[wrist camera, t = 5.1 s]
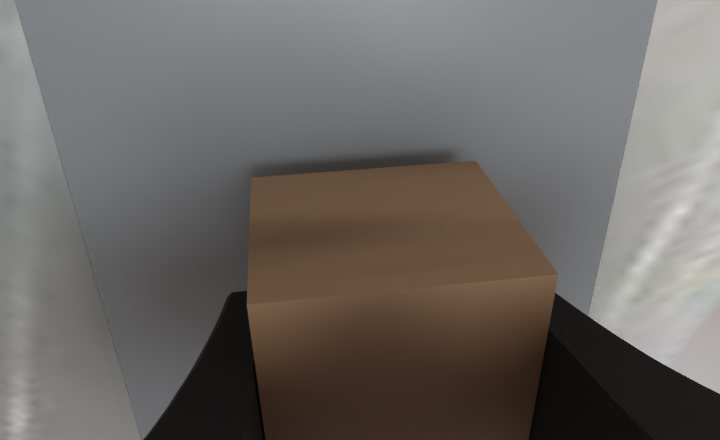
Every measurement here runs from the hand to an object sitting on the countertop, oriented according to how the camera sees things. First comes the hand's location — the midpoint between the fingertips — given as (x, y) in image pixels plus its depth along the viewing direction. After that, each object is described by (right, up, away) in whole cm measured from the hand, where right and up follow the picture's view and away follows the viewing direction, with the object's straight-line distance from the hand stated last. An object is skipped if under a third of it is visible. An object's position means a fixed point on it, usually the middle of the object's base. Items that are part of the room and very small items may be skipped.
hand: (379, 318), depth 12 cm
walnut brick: (0, +1, +1) cm, 2 cm away
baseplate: (0, +2, +3) cm, 3 cm away
